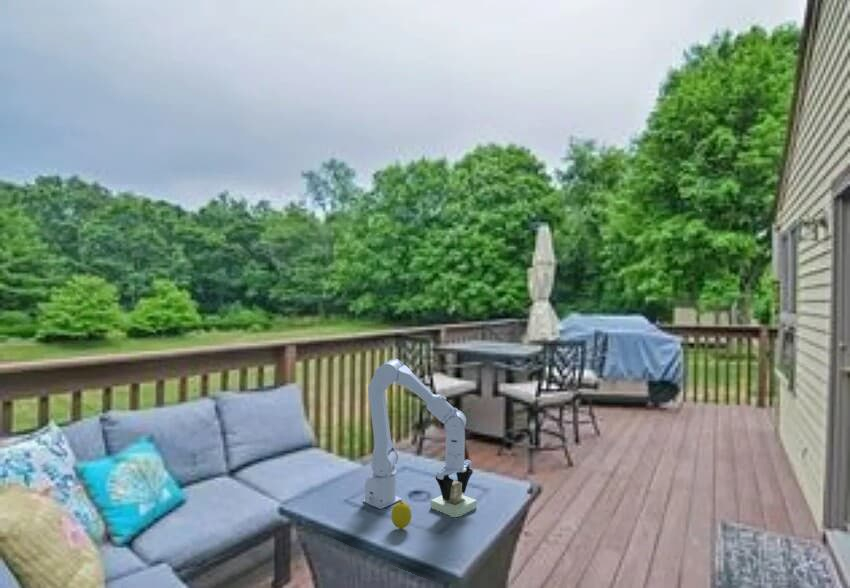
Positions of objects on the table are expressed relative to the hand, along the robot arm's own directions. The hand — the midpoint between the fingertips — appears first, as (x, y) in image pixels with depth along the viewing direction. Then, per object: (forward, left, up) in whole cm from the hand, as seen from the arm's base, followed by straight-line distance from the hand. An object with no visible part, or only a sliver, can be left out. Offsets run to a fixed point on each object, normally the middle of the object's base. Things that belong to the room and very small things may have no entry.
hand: (453, 495), depth 178 cm
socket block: (0, 0, -4) cm, 4 cm away
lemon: (-21, +2, -4) cm, 21 cm away
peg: (0, 0, -4) cm, 4 cm away
